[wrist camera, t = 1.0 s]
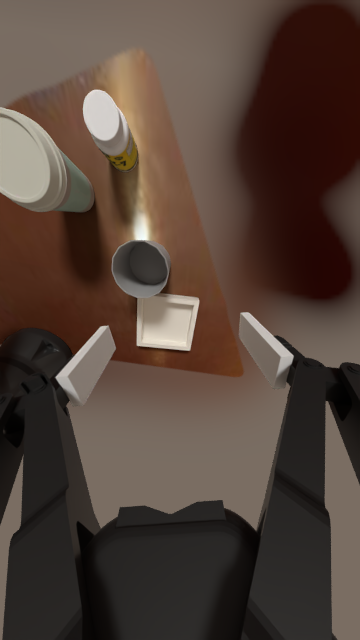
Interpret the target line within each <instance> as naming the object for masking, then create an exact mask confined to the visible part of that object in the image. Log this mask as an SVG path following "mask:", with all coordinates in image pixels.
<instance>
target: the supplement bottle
mask: <svg viewBox="0 0 360 640" xmlns="http://www.w3.org/2000/svg"><path fill="white" fill-rule="evenodd" d="M83 115H84V120H85V123H86V126H87V128H88V129H89V131H90V133H91V135H92V138H93V140H94V142H95V143H96V145H97V146H98V148H99V149H100V150H101V151H102V153H103V154H104V155H105V156H106V157H107V159H108V160H109V161H110V162H111V163H112V165H113V166H114V167H115V168H116V169H118V170H119V171H122V172H129V171H131V170H133V169H134V167H135V166H136V164H137V161H138V150H137V146H136V143H135V141H134V138H133V136H132V133H131V131H130V129H129V126H128V124H127V121H126V119H125V117H124V115H123V113H122V112H121V111H120V109H119V108H118V107H117V106H116V104H115V102H114V101H113V99H112V98H111V97H110V96H109V95H108V94H107V93H106V92H104V91H101V90H93V91H91V92H90V93H89V94H88V95H87V96H86V98H85V100H84V105H83Z"/></svg>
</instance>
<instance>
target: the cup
mask: <svg viewBox="0 0 360 640" xmlns="http://www.w3.org/2000/svg"><path fill="white" fill-rule="evenodd" d="M170 267H171V261H170V257H169V253H168V252H167V251H166V249H165V248H164V247H163V246H162V245H160V244H159V243H157V242H155V241H145V240H130V241H128V242H126V243H125V244H123V245H121V246H119V247H118V249H117V251H116V252H115V254H114V256H113V258H112V273H113V276H114V278H115V281H116V283H117V284H118V286H119V287H120V288H121V289H122V290H123V291H124V292H125V293H127V294H129V295H131V296H134V297H136V298H150V297H152V296H154V295H156V294H158V293H160V291H161V290H162V289H163V287H164V286H165V285H166V283H167V279H168V275H169V271H170Z"/></svg>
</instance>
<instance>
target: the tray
mask: <svg viewBox="0 0 360 640" xmlns="http://www.w3.org/2000/svg"><path fill="white" fill-rule="evenodd" d="M198 306H199V299H198V298H197V297H188V296H180V295H172V294H164V293H158V294H156V295H154V296H152V297H150V298H137V346H145V347H155V348H166V349H176V350H187V351H190V348H191V342H192V337H193V332H194V327H195V322H196V317H197V311H198Z"/></svg>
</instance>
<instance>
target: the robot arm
mask: <svg viewBox="0 0 360 640" xmlns="http://www.w3.org/2000/svg"><path fill="white" fill-rule="evenodd" d="M239 338H240V340H241V341H242V343H243V344H244V346H245V347H246V349H247V350H248V352H249V353H250V354H251V356H252V358H253V359H254V361H255V362H256V364H257V365H258V367H259V368H260V370H261V371H262V373H263V374H264V376H265V377H266V379H267V380H268V382H269V383H270V385H271V386H272V388H273V389H280V388H285V386H286V382H287V383H289V385H290V386H291V387H290V390H289V394H288V397H287V398H288V399H287V404H286V408H285V412H284V416H283V421H282V425H281V430H280V434H279V438H278V443H277V447H276V451H275V456H274V460H273V465H272V468H271V473H270V477H269V481H268V486H267V490H266V494H265V499H264V503H263V507H262V510H261V514H260V518H259V522H258V526H257V531H256V530H255V529H254V528H253V527H252V526H251V525H250V524H249V523H248V522H247V521H246V520H244V519H243V518H242V517H241V516H239V515H238V514H236V513H235V512H233V511H231V510H228V509H226V508H224V506H223V501H222V500H217V501H203V502H196V503H194V504H192V505H190V506H188V507H185V508H183V509H181V510H179V511H177V512H175V513H173V514H167V513H164V512H161V511H159V510H155V509H153V508H150V507H147V506H133V507H120V509H119V514H118V517H116V518H115V519H113V520H112V521H110V522H109V523H107V524H106V525H105V526H104V527H103V528H100V526H99V523H98V521H97V519H96V517H95V514H94V511H93V507H92V503H91V499H90V496H89V492H88V487H87V483H86V479H85V476H84V471H83V468H82V463H81V459H80V455H79V451H78V447H77V443H76V439H75V435H74V431H73V427H72V423H71V419H70V415H69V411H68V408H67V407H66V405H67V403H68V402H69V401H70V402H71V404H72V406H82V405H84V404H85V402H86V400H87V399H88V397H89V395H90V393H91V392H92V390H93V388H94V386H95V384H96V383H97V381H98V379H99V377H100V375H101V374H102V372H103V370H104V369H105V367H106V365H107V363H108V362H109V360H110V358H111V356H112V355H113V353H114V351H115V349H116V347H115V344H114V341H113V338H112V335H111V332H110V329H109V326H101V327H100V328H99V329H98V330H97V331H96V333H95V334H94V335H93V336H92V337H91V338H90V339H89V340H88V341H87V343H86V344H85V345H84V346H83V347H82V348H81V349H80V350H79V352H78V353H77V354H76V355H73V356H72V353H71V351H70V349H69V347H68V346H67V345H66V343H65V342H64V341H63V340H61V339H60V338H59V337H57V336H56V335H54V334H52V333H50V332H48V331H45V330H42V329H37V328H25V329H21V330H19V331H17V332H15V333H14V334H12V335H10V336H9V337H7V338H6V339H5V341H4V342H3V344H2V345H1V346H0V524H1V521H2V518H3V515H4V512H5V509H6V506H7V503H8V500H9V497H10V493H11V490H12V487H13V484H14V481H15V478H16V475H17V472H18V469H19V466H20V463H21V460H22V457H23V454H24V457H23V487H22V516H21V526H20V529H19V530H18V531H17V532H16V533H14V534H13V536H12V539H11V541H10V547H9V557H8V572H7V584H6V599H5V612H4V627H3V640H337V638H336V637H335V636H334V635H333V633H332V612H331V611H332V609H331V527H330V517H329V513H328V511H327V509H326V508H325V502H324V494H325V489H324V488H325V487H324V486H325V485H324V484H325V401H328V402H329V405H330V408H331V410H332V413H333V415H334V418H335V421H336V423H337V426H338V429H339V431H340V434H341V437H342V439H343V442H344V444H345V447H346V450H347V452H348V455H349V457H350V460H351V463H352V466H353V468H354V471H355V473H356V476H357V479H358V481H359V484H360V365H358V364H355V363H348V362H345V363H342V364H341V365H340V367H339V368H331V367H325V366H324V365H323V364H322V363H320V362H319V361H317V360H314V359H311V358H305V357H304V356H303V355H302V354H301V353H299V352H298V351H297V350H296V349H295V348H294V347H292V345H291V344H289V343H288V342H287V341H286V340H285V339H284V338H282V337H279V336H273V335H272V334H270V333H269V332H268V331H267V330H266V329H265V328H264V327H263V326H262V325H261V324H260V323H259V322H258V321H257V320H256V319H255V318H254V317H253V316H252V315H251V314H250V313H248V312H247V313H241V314H240V326H239Z"/></svg>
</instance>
